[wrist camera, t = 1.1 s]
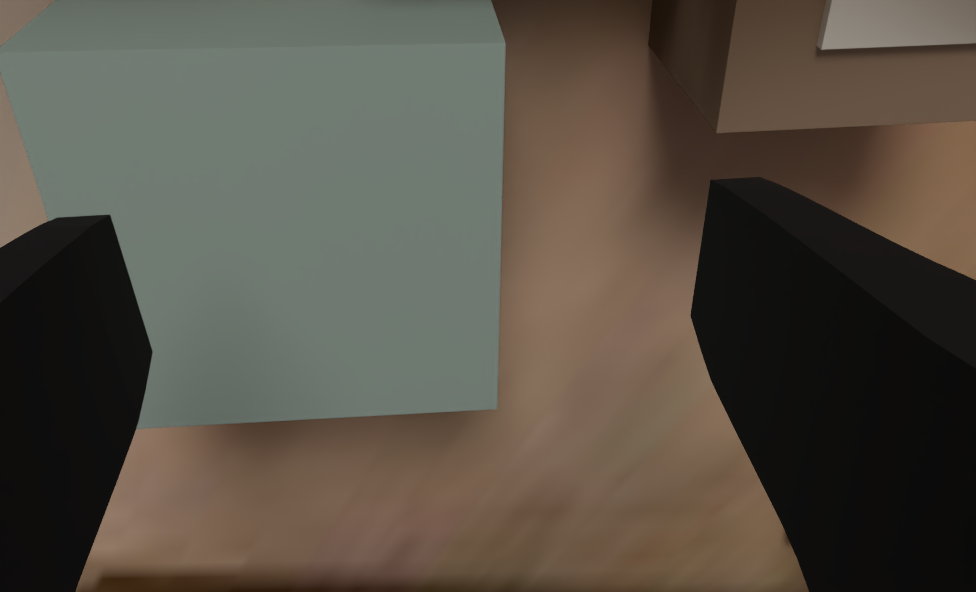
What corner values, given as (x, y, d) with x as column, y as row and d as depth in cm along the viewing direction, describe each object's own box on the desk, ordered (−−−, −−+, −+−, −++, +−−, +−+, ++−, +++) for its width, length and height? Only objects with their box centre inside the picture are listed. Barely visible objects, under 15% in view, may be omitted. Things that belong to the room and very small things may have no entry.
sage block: (478, 281, 22) (497, 409, 18) (168, 294, 22) (117, 429, 18) (479, -33, 18) (505, 42, 14) (88, -29, 17) (-6, 52, 13)
